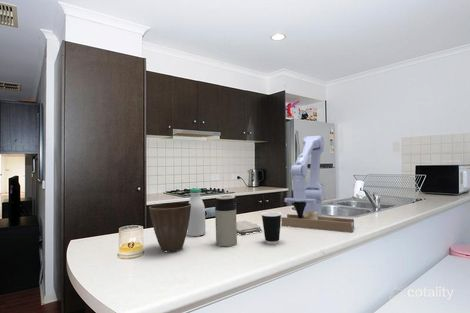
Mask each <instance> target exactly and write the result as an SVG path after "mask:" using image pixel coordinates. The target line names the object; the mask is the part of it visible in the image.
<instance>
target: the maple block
mask: <svg viewBox="0 0 470 313" xmlns="http://www.w3.org/2000/svg"><path fill="white" fill-rule="evenodd" d="M304 219H312V220H318V212H311V211H307V212H305V213H304Z"/></svg>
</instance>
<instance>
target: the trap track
mask: <svg viewBox="0 0 470 313" xmlns="http://www.w3.org/2000/svg"><path fill="white" fill-rule="evenodd" d="M288 226H290V227H289V228H298V227H299V228H301V229H309V230H320V231H321V230H322V231H331V232H332V231H333V232H341V233H351V234H352V232H353V231H354V229H355V219H354V218H347V217H346V218H344V217H332V216H331V217H330V216H323V217H320V216H318V220H312V219H304V215H303V216H302V218H298V214H291V213H289V214H286V217H285V216H281V227H288Z"/></svg>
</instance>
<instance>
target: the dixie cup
mask: <svg viewBox="0 0 470 313" xmlns="http://www.w3.org/2000/svg"><path fill="white" fill-rule="evenodd" d="M260 215H261V219H262V225H263V226H262V227H263V235H264V240H265V243H266V242H267V243H266V244H268V243H270V244H269V245H276V244H275V243H277V244H279V240H280V234H281V224H282V221H281V217H282V212H278V211H264V212H262V213H260Z"/></svg>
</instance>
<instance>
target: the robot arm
mask: <svg viewBox="0 0 470 313" xmlns="http://www.w3.org/2000/svg"><path fill="white" fill-rule="evenodd" d="M324 138H325V137H324V136H323V135H311V136H307V135H306V136H304V137H303V140H302V144H303V148H302V153H299V154H298V156H297V159H296V161H295V163H294V164H293V165H292V166H291V167H290V175H291V179H292V186H293V187H292V190H293V193H292V194H293V197H285V198H284V203H293V204H292V205H293V208H294V209H295V211H296V215H298V218H302V216H303V215H304V213H305V212H307V211H311V212H318V216H320V217H324V216H323V215H322V202H323V201H324V199H325V188H324V186H323V185H321V183H320V168H321V155H322V153H323V152H324V150H325V139H324ZM309 162H310V163H309ZM308 164H310V165H308ZM308 166H310V169H309V181H308V183H307V184H306V176H307V174H308Z"/></svg>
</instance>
